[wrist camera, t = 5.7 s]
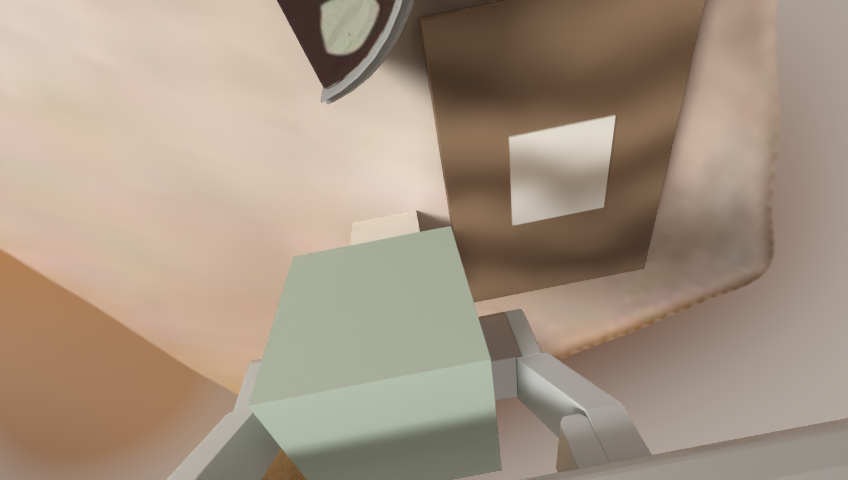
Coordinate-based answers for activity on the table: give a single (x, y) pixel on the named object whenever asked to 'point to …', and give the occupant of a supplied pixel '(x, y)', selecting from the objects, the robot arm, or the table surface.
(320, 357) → the sage green block
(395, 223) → the cream block
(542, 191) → the board
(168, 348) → the table surface
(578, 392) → the robot arm
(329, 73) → the food container
